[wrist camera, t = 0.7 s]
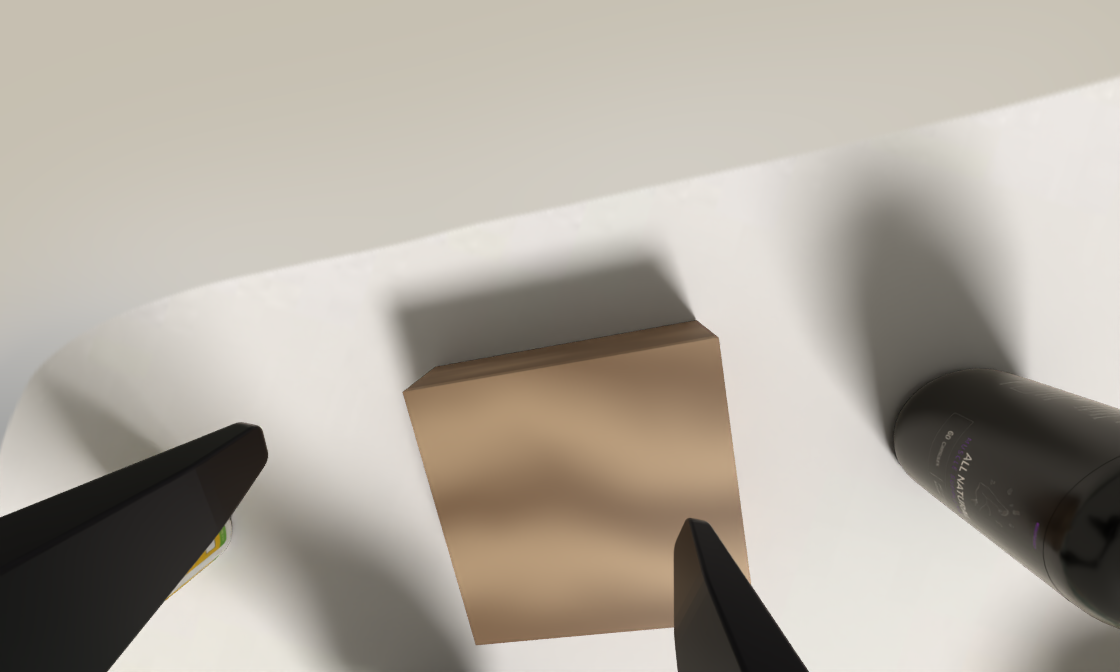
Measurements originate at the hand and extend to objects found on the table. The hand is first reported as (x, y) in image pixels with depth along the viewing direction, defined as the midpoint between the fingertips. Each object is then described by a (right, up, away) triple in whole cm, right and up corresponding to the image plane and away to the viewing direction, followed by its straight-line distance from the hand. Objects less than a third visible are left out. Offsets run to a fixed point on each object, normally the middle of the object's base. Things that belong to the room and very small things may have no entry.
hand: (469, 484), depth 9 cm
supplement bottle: (+22, -2, +13) cm, 26 cm away
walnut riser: (+3, -4, +15) cm, 16 cm away
